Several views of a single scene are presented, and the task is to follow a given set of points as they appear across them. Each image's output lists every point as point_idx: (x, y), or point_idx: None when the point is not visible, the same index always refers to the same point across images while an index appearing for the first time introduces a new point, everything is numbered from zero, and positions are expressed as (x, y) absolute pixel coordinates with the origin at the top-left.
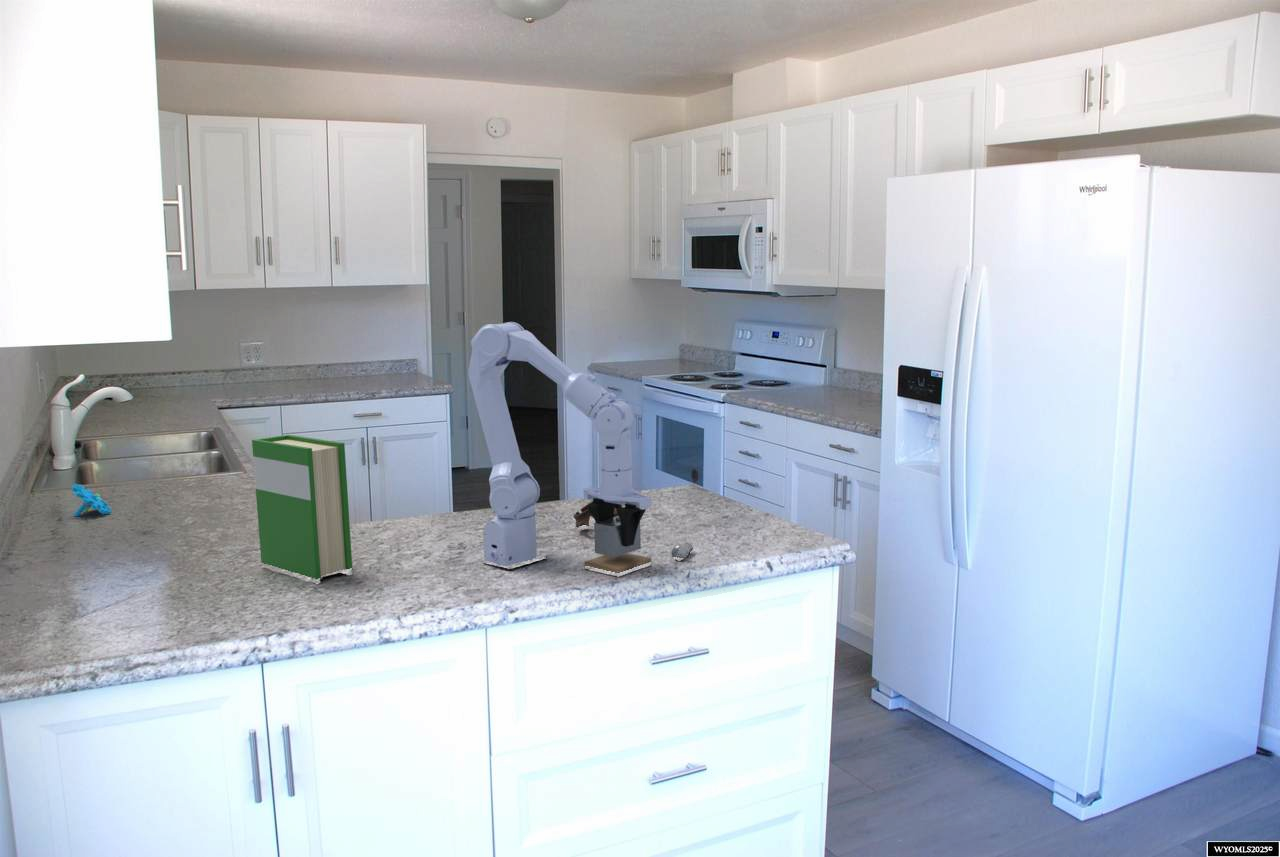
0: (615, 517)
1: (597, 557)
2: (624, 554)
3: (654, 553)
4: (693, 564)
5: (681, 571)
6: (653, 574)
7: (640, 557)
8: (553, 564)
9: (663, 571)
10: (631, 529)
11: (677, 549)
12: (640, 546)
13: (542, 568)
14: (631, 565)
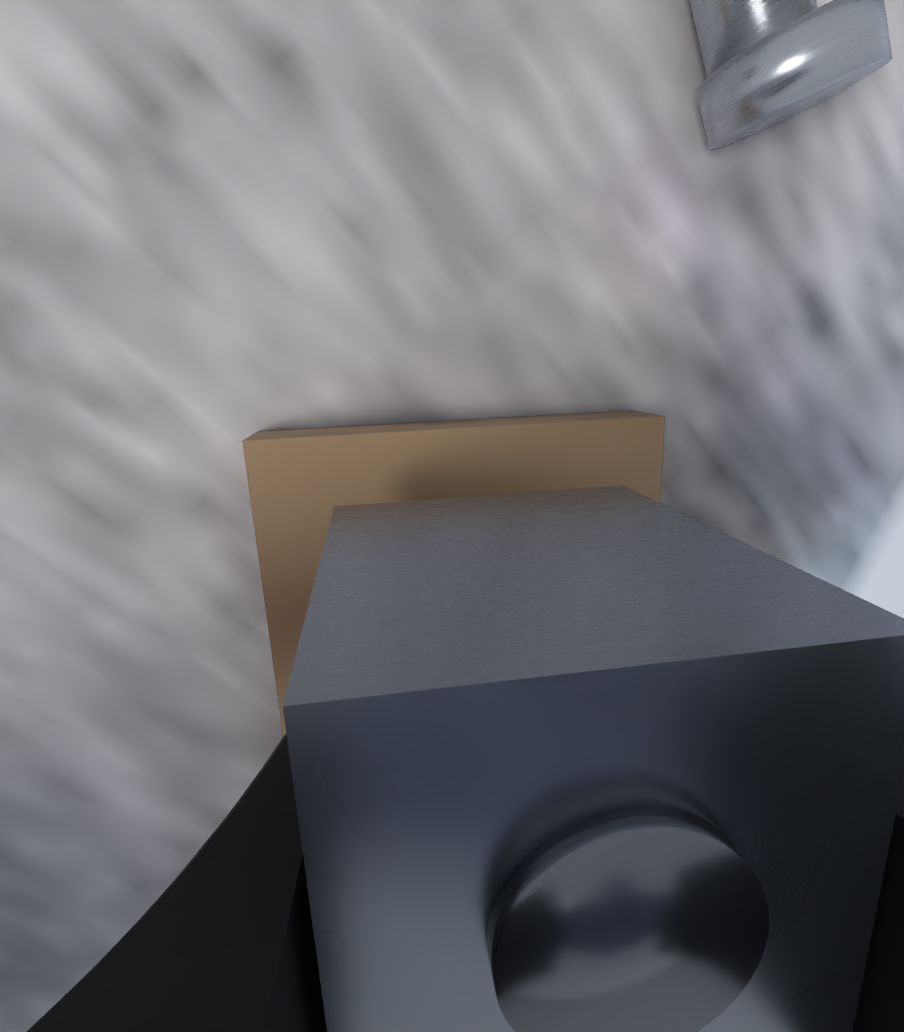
0: (358, 902)
1: (281, 715)
2: (395, 494)
3: (382, 38)
4: (889, 129)
5: (894, 362)
6: (764, 552)
7: (581, 468)
8: (6, 873)
9: (785, 452)
10: None
11: (819, 90)
12: (632, 493)
13: (47, 968)
14: None
